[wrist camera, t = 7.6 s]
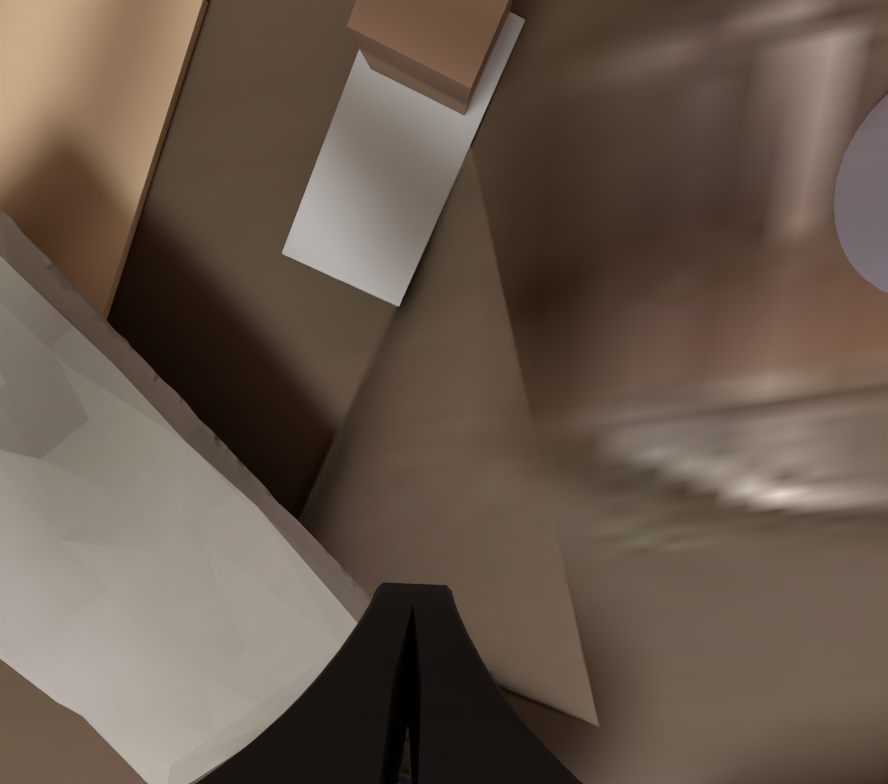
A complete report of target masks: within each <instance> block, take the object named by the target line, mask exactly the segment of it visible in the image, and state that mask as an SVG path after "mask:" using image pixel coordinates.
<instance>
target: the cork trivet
mask: <svg viewBox="0 0 888 784" xmlns="http://www.w3.org/2000/svg"><path fill="white" fill-rule="evenodd" d="M207 5H208V2H207V1H206V0H0V210H2V211H3V212H4V213H6V214H7V215H8V216H10V217H11V218H12V220H13V221H14V222H15V224H16V225H17V226H18V228H19V229H20V230H21V232H22V233H23V234H24V235H25V236H26V237H27V238H28V239H29V240H30V241H31V242H32V243H33V244H34V245H35V246H36V247H37V248H38V249H39V250H41V251H42V252H43V253H44V254H45V255H46V256H47V257H48V258H49V259H50V260H51V262H52V263H53V264H54V265H55V266H56V267H57V269H58V270H59V271H60V272H61V273H62V274H63V275H64V276H65V277H66V278H67V279H68V280H69V281H70V282H71V283H72V284H73V285H74V287H75V288H76V289H77V290H78V291H79V292H80V293H81V294H82V295H83V296H84V297H85V298H86V299H87V300H88V301H89V302H90V303H91V304H92V305H93V306H94V308H95V309H96V310H97V311H98V312H99V313H100V314H101V315H102V316H103V317H104V318H105V319H106V321H107V318H108V315H109V312H110V309H111V306H112V302H113V299H114V296H115V293H116V290H117V287H118V284H119V281H120V277H121V274H122V271H123V268H124V265H125V262H126V259H127V256H128V252H129V249H130V246H131V243H132V240H133V237H134V234H135V231H136V227H137V224H138V221H139V218H140V215H141V212H142V209H143V206H144V202H145V199H146V196H147V193H148V190H149V187H150V184H151V180H152V177H153V174H154V171H155V168H156V165H157V162H158V159H159V155H160V152H161V149H162V146H163V143H164V140H165V137H166V134H167V130H168V127H169V124H170V121H171V118H172V115H173V112H174V109H175V105H176V102H177V99H178V96H179V93H180V90H181V87H182V84H183V80H184V77H185V74H186V71H187V68H188V65H189V62H190V59H191V55H192V52H193V49H194V46H195V43H196V40H197V37H198V34H199V30H200V27H201V24H202V21H203V18H204V15H205V12H206V9H207Z"/></svg>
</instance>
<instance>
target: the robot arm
mask: <svg viewBox="0 0 888 784" xmlns="http://www.w3.org/2000/svg"><path fill="white" fill-rule="evenodd" d="M834 217H835V227H836V230H837V234H838V237H839V241H840V244H841V247H842V249H843V250H844V252H845V254H846V256H847V258H848V260H849V262H850V263H851V265H852V266H853V267H854V268H855V269H856V270H857V271H858V273H859V274H860V275H861V276H862V277H863V278H864V279H865V280H867V281H868V282H870V283H871V284H872V285H874V286H875V287H877V288H878V289H879V290H882V291H884V292H886V293H888V94H887V95H886V96H885V97H884V98H883V99H882V100H881V101H880V102H879V103H878V104H877V105H876V106H875V107H874V108H873V109H872V110H871V111H870V113H869V114H868V115H867V117H866V118H865V119H864V121H863V122H862V124H861V125H860V126H859V128H858V129H857V131H856V132H855V134H854V136H853V138H852V140H851V142H850V144H849V146H848V148H847V150H846V152H845V154H844V156H843V159H842V162H841V166H840V169H839V172H838V175H837V179H836V186H835V194H834ZM407 727H408V738H409V765H410V784H583V783H581V782H580V781H579V780H578V779H577V778H576V777H575V776H574V775H573V774H572V773H571V772H570V771H569V770H568V769H567V768H566V767H565V766H564V765H563V764H562V763H561V762H560V761H559V760H558V759H557V758H556V757H555V756H554V755H553V754H552V753H551V752H550V751H549V750H548V749H547V748H546V747H545V746H544V744H543V743H542V742H541V741H540V740H539V739H538V737H537V736H536V735H535V734H534V733H533V732H532V730H531V729H530V728H529V727H528V726H527V725H526V723H525V722H524V721H523V719H522V718H521V717H520V716H519V714H518V713H517V712H516V710H515V709H514V708H513V706H512V705H511V704H510V702H509V701H508V700H507V698H506V697H505V695H504V694H503V692H502V691H501V689H500V688H499V686H498V685H497V683H496V682H495V680H494V679H493V677H492V676H491V674H490V672H489V671H488V669H487V667H486V666H485V664H484V662H483V661H482V659H481V657H480V655H479V653H478V652H477V650H476V648H475V646H474V644H473V642H472V640H471V639H470V637H469V635H468V633H467V631H466V628H465V626H464V624H463V622H462V620H461V617H460V615H459V612H458V610H457V607H456V605H455V602H454V598H453V595H452V591H451V590H450V589H449V588H448V586H447V585H429V584H405V583H382V584H381V585H380V586H379V587H377V590H376V592H375V594H374V596H373V598H372V600H371V602H370V604H369V606H368V607H367V609H366V611H365V612H364V614H363V616H362V617H361V619H360V620H359V622H358V624H357V625H356V627H355V628H354V629H353V631H352V632H351V634H350V635H349V637H348V638H347V640H346V641H345V642H344V644H343V645H342V647H341V648H340V649H339V651H338V652H337V653H336V655H335V656H334V657H333V658H332V659H331V661H330V662H329V663H328V664H327V666H326V667H325V668H324V669H323V671H322V672H321V673H320V674H319V676H318V677H317V678H316V679H315V680H314V681H313V683H312V684H311V685H310V686H309V687H308V688H307V689H306V690H305V691H304V692H303V694H302V695H301V696H300V697H299V698H298V699H297V700H296V701H295V702H294V703H293V704H292V705H291V706H290V707H289V708H288V709H287V710H286V711H285V712H284V713H283V714H282V715H281V716H280V717H279V718H278V719H276V720H275V721H274V722H273V723H272V724H271V725H270V726H269V727H268V728H266V729H265V730H264V731H263V732H262V733H261V734H260V735H259V736H258V737H257V738H255V739H254V740H253V741H252V742H251V743H249V744H248V745H247V746H246V747H245V748H243V749H242V750H241V751H240V752H238V753H237V754H236V755H234V756H233V757H232V758H230V759H229V760H228V761H226V762H225V763H224V764H222V765H221V766H220V767H218V768H217V769H215V770H214V771H213V772H211V773H210V774H209V775H207V776H206V777H205V778H203V779H202V780H200V781H199V782H197V783H196V784H399V778H400V771H401V765H402V759H403V752H404V746H405V740H406V733H407Z"/></svg>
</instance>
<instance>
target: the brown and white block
mask: <svg viewBox="0 0 888 784" xmlns="http://www.w3.org/2000/svg"><path fill="white" fill-rule="evenodd" d="M512 3H513V0H356V2H355V5H354V7H353V10H352V13H351V15H350V18H349V21H348V23H347V28H348V30H349V31H350V33H351V35H352V37H353V39H354V40H355V42H356V44H357V46H358V47H359V51H358V54H357V56H356V59H355V62H354V64H353V67H352V70H351V72H350V75H349V78H348V80H347V83H346V85H345V88H344V91H343V93H342V96H341V99H340V101H339V104H338V107H337V109H336V112H335V115H334V117H333V120H332V122H331V125H330V128H329V130H328V133H327V136H326V138H325V141H324V144H323V146H322V149H321V151H320V154H319V157H318V159H317V162H316V165H315V167H314V170H313V173H312V175H311V178H310V180H309V183H308V186H307V188H306V191H305V194H304V196H303V199H302V202H301V204H300V207H299V209H298V212H297V215H296V217H295V220H294V223H293V225H292V228H291V231H290V233H289V236H288V238H287V241H286V244H285V246H284V249H283V252H282V254H284V255H286V256H288V257H290V258H292V259H295V260H297V261H299V262H301V263H303V264H306V265H308V266H310V267H312V268H315V269H317V270H319V271H321V272H323V273H326V274H328V275H330V276H332V277H334V278H337V279H339V280H341V281H343V282H345V283H348V284H350V285H352V286H354V287H356V288H359V289H361V290H363V291H365V292H367V293H370V294H372V295H374V296H376V297H379V298H381V299H383V300H385V301H387V302H390V303H392V304H394V305H396V306H398V307H399V305H400V303H401V301H402V299H403V296H404V294H405V292H406V290H407V287H408V285H409V283H410V280H411V278H412V276H413V274H414V271H415V269H416V267H417V265H418V262H419V260H420V258H421V255H422V253H423V251H424V249H425V246H426V244H427V242H428V240H429V237H430V235H431V233H432V231H433V228H434V226H435V224H436V221H437V219H438V217H439V215H440V212H441V210H442V208H443V206H444V203H445V201H446V199H447V196H448V194H449V192H450V190H451V187H452V185H453V183H454V181H455V178H456V176H457V174H458V172H459V169H460V167H461V165H462V162H463V160H464V158H465V156H466V153H467V151H468V149H469V147H470V144H471V142H472V140H473V137H474V135H475V133H476V131H477V128H478V126H479V124H480V122H481V119H482V117H483V115H484V113H485V110H486V108H487V106H488V103H489V101H490V99H491V97H492V94H493V92H494V90H495V88H496V85H497V83H498V81H499V78H500V76H501V74H502V72H503V69H504V67H505V65H506V63H507V60H508V58H509V56H510V54H511V51H512V49H513V47H514V44H515V42H516V40H517V38H518V35H519V33H520V31H521V29H522V26H523V24H524V22H525V19H523V18H521V17H519V16H517V15H515V14H513V13H511V12H510V9H511V6H512Z"/></svg>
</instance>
